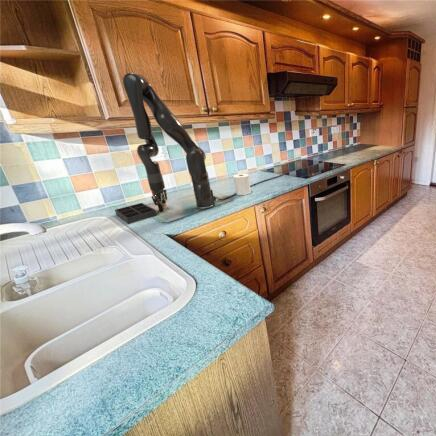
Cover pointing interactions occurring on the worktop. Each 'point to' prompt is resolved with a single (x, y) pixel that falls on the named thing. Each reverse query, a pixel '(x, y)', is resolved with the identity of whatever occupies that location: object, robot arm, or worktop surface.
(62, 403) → the worktop surface
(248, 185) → the toilet paper
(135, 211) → the grid
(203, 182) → the robot arm
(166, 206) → the token
